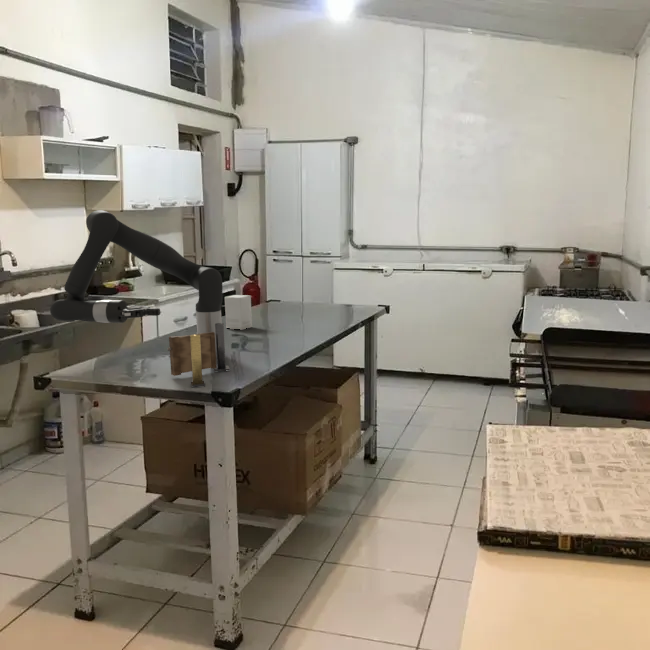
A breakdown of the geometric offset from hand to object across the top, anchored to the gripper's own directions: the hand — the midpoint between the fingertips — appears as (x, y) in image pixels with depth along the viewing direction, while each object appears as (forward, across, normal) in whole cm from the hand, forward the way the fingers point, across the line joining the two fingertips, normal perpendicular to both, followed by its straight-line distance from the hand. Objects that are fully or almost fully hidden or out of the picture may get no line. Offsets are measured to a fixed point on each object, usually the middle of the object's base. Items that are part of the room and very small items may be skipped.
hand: (159, 312), depth 226 cm
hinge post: (+16, +12, +22) cm, 29 cm away
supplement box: (-6, +93, +22) cm, 96 cm away
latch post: (+16, -9, +22) cm, 28 cm away
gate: (+9, +4, +20) cm, 23 cm away
